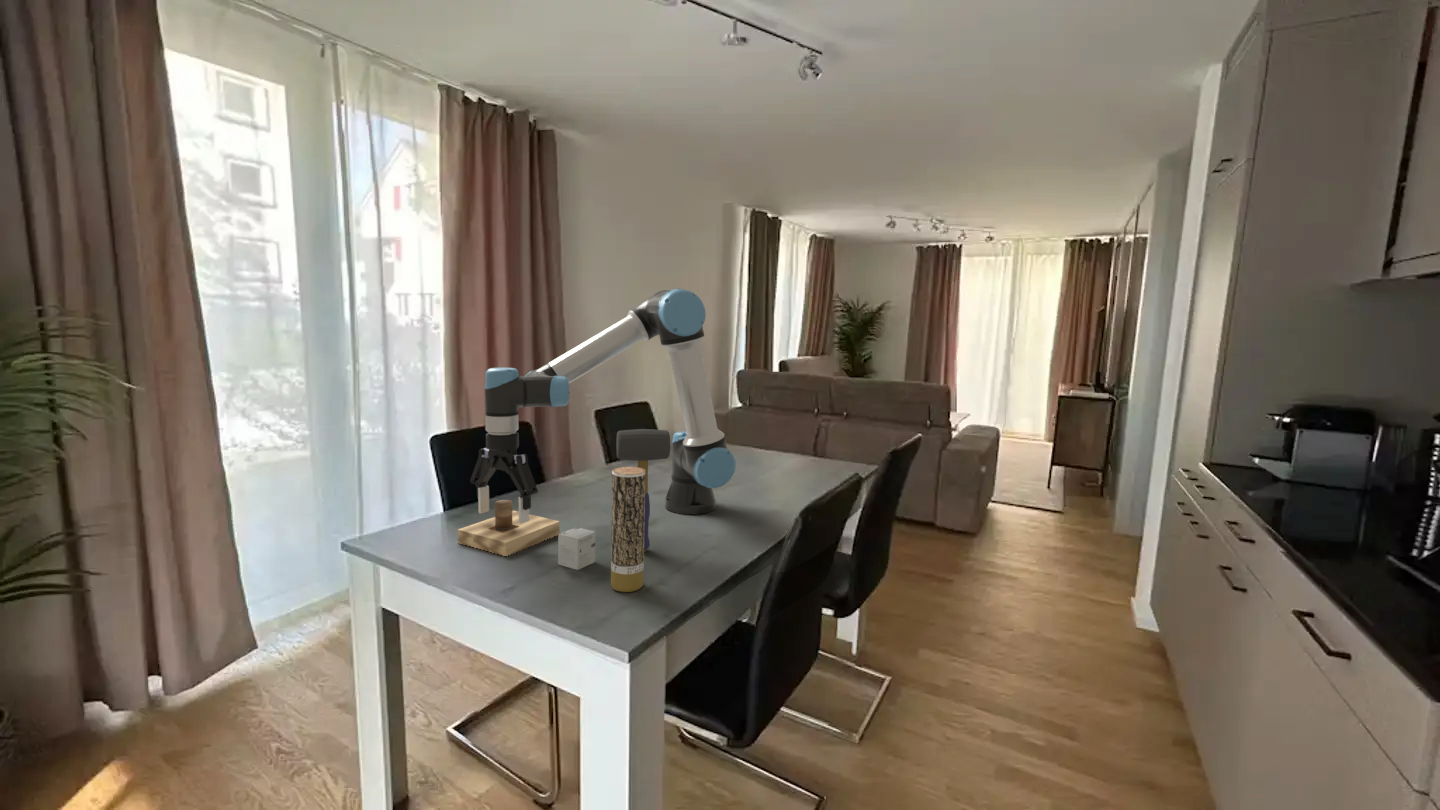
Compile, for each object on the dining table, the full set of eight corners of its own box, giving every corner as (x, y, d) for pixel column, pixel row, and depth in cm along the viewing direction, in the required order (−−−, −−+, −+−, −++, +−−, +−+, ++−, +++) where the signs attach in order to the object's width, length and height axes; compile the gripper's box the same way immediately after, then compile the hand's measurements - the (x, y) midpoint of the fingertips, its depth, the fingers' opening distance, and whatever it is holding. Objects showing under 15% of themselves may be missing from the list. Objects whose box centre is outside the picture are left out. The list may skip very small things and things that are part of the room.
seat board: (559, 534, 160) (559, 521, 160) (505, 557, 144) (505, 542, 144) (513, 523, 167) (513, 510, 167) (457, 543, 152) (457, 529, 151)
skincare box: (577, 570, 138) (578, 539, 137) (557, 564, 141) (557, 533, 140) (595, 562, 143) (596, 531, 142) (575, 556, 146) (575, 526, 145)
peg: (516, 540, 155) (515, 501, 153) (503, 545, 151) (503, 505, 150) (504, 537, 157) (503, 498, 155) (491, 542, 153) (491, 502, 152)
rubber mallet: (616, 558, 146) (618, 432, 142) (613, 546, 153) (615, 426, 149) (669, 555, 149) (672, 431, 145) (664, 544, 156) (666, 426, 152)
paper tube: (644, 580, 134) (646, 467, 131) (641, 594, 128) (644, 475, 124) (613, 579, 134) (614, 466, 131) (608, 593, 127) (609, 474, 124)
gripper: (552, 435, 148) (552, 521, 151) (478, 424, 159) (480, 504, 162) (529, 440, 141) (530, 530, 144) (453, 428, 153) (455, 511, 156)
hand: (503, 517), depth 153 cm, fingers open, 13 cm apart
